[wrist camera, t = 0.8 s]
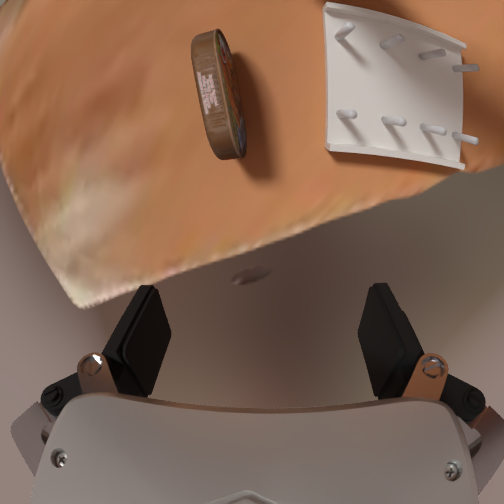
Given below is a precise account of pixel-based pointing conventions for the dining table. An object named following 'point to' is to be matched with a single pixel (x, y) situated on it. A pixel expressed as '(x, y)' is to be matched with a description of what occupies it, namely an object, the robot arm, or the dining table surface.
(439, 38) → the dish rack
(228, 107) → the tin
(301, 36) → the dining table surface
